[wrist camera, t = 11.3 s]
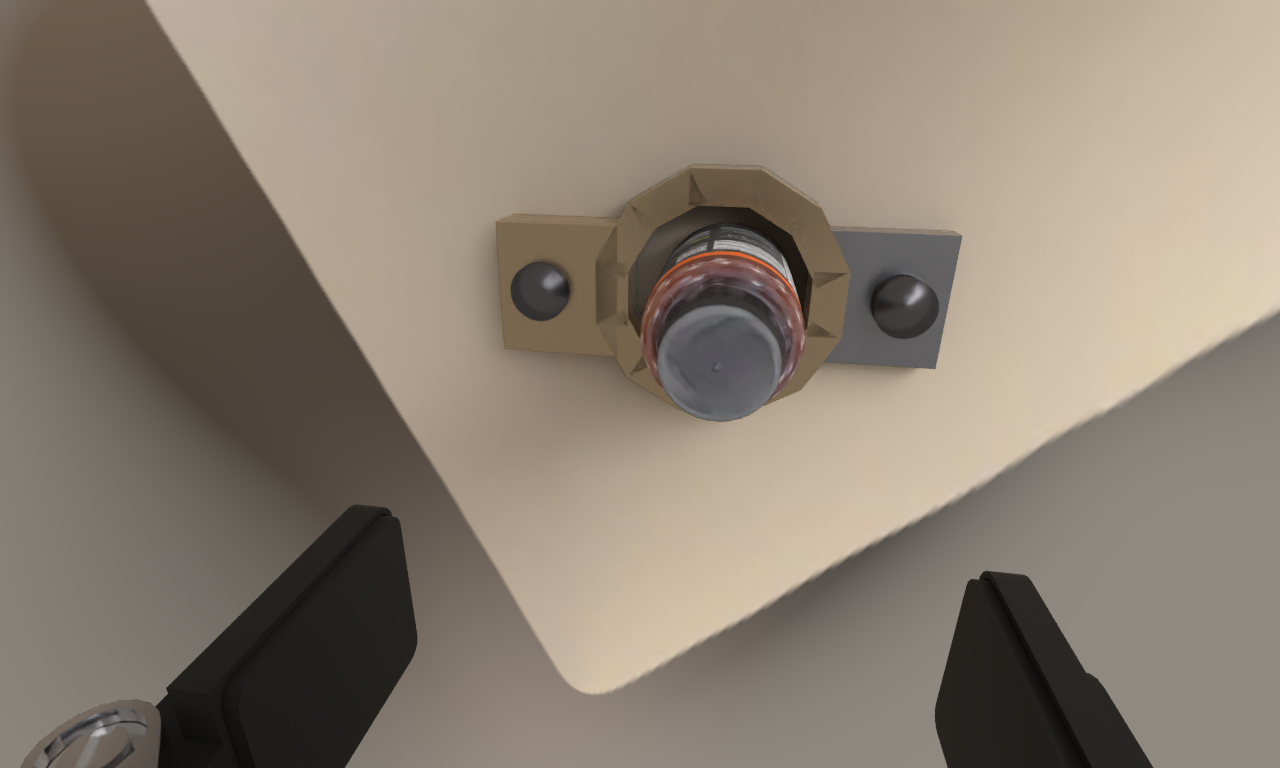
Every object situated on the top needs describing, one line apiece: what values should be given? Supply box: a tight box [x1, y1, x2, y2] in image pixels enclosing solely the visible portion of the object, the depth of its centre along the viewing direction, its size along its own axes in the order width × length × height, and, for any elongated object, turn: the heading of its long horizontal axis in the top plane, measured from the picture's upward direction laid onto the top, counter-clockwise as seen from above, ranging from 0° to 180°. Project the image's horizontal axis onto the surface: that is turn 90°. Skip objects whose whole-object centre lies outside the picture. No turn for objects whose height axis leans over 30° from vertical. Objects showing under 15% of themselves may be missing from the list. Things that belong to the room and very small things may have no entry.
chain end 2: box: [632, 164, 962, 369], centre depth 30 cm, size 16×11×2 cm
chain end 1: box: [496, 166, 850, 410], centre depth 30 cm, size 16×11×3 cm
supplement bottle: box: [640, 223, 805, 422], centre depth 26 cm, size 6×6×11 cm
